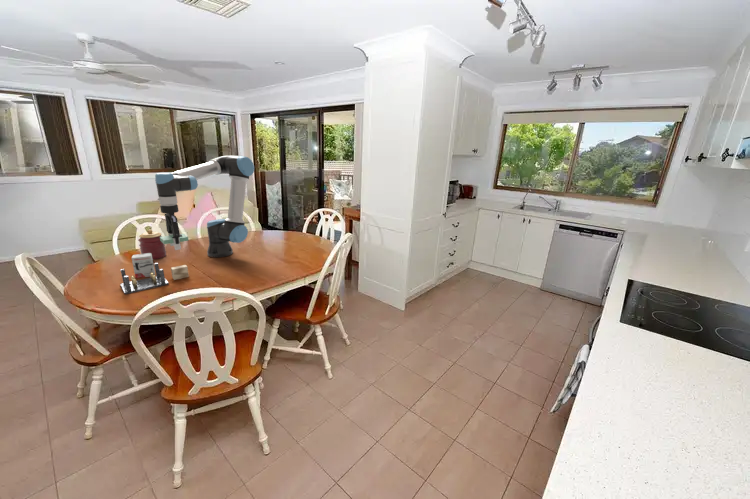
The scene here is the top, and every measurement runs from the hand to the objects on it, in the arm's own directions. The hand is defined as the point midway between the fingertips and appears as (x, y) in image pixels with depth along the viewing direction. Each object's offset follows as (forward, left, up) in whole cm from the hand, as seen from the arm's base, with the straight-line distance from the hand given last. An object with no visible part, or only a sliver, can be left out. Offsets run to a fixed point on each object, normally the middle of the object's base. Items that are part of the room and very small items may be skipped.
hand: (175, 247), depth 162 cm
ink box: (+13, -14, -17) cm, 26 cm away
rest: (0, 0, -17) cm, 17 cm away
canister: (+3, -45, -17) cm, 49 cm away
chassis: (+16, 0, -17) cm, 23 cm away
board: (0, 0, +4) cm, 4 cm away
